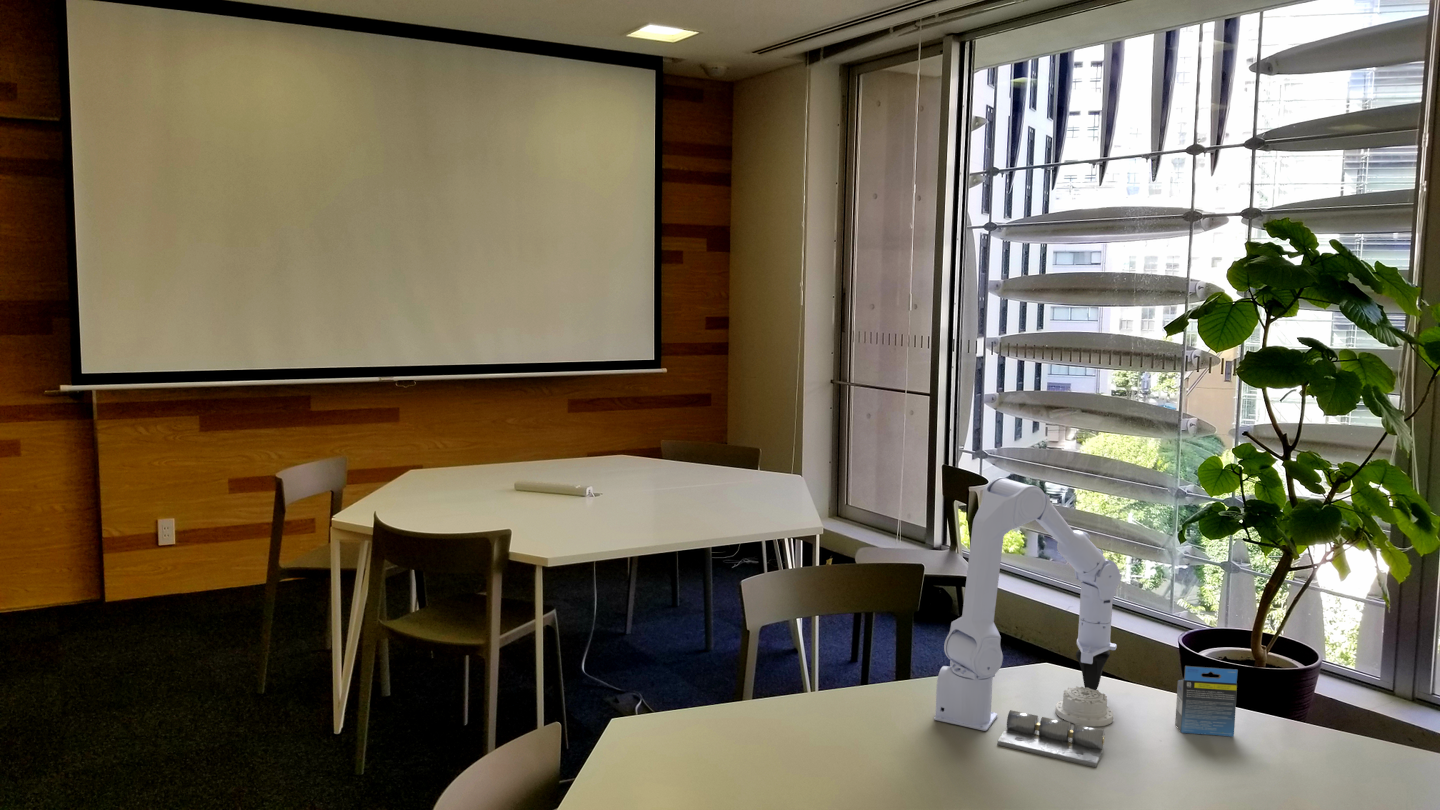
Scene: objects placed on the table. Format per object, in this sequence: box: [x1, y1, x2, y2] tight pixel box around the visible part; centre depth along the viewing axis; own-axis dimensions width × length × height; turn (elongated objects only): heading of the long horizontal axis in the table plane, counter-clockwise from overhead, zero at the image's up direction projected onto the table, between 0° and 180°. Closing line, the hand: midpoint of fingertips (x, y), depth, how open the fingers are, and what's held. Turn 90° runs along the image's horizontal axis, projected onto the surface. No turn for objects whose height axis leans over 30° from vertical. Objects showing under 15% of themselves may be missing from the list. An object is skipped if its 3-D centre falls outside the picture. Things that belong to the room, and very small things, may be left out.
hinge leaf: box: [997, 709, 1106, 768], centre depth 175 cm, size 16×9×4 cm, turn 60°
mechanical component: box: [1054, 686, 1114, 728], centre depth 187 cm, size 10×4×10 cm
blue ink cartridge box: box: [1174, 665, 1239, 738], centre depth 181 cm, size 9×4×12 cm, turn 80°
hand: (1091, 688), depth 196 cm, fingers closed
